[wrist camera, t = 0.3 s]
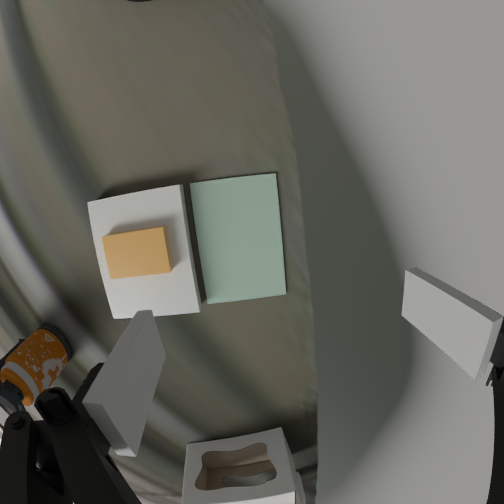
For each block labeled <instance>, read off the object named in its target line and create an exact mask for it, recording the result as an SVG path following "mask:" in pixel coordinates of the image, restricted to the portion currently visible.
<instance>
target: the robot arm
mask: <svg viewBox="0 0 504 504" xmlns="http://www.w3.org/2000/svg"><path fill="white" fill-rule="evenodd" d="M129 1H135V2H142V1H150V0H129ZM402 316H403V317H404V318H406V319H407V320H408V321H409V322H410V323H412V324H413V325H414V326H415V327H416V328H417V329H419V330H420V331H421V332H422V333H423V334H424V335H426V336H427V337H428V338H429V339H430V340H431V341H432V342H434V343H435V344H436V345H437V346H438V347H439V348H440V349H441V350H443V351H444V352H445V353H446V354H447V355H448V356H449V357H450V358H451V359H453V360H454V361H455V362H456V363H457V364H458V365H459V366H460V367H461V368H463V369H464V370H465V371H466V372H467V373H468V374H469V375H470V376H471V377H472V378H473V379H477V378H478V377H480V376H481V375H483V374H484V373H485V372H486V370H487V367H488V364H489V362H491V363H493V364H494V365H493V368H492V371H491V373H490V375H489V378H488V380H487V382H486V386H488V384H489V382H490V381H491V380H492V384H491V386H493V394H494V414H495V415H494V416H495V433H494V456H493V467H492V476H491V483H490V490H489V495H488V500H487V503H486V504H504V317H503V316H502V315H500V314H499V313H497V312H495V311H494V310H492V309H490V308H489V307H487V306H485V305H483V304H482V303H480V302H479V301H477V300H475V299H473V298H471V297H470V296H468V295H466V294H464V293H462V292H461V291H459V290H457V289H455V288H453V287H452V286H450V285H448V284H446V283H444V282H443V281H441V280H439V279H437V278H435V277H433V276H431V275H430V274H428V273H426V272H424V271H422V270H420V269H418V268H411V269H407V270H405V286H404V297H403V308H402ZM165 357H166V355H165V352H164V349H163V346H162V343H161V339H160V336H159V333H158V330H157V326H156V323H155V319H154V316H153V312H152V310H141V311H137V312H136V314H135V315H134V317H133V319H132V320H131V322H130V323H129V325H128V326H127V328H126V329H125V331H124V333H123V334H122V336H121V337H120V339H119V340H118V342H117V344H116V345H115V347H114V348H113V350H112V352H111V353H110V355H109V357H108V358H107V360H106V361H105V363H98V364H97V365H96V366H95V367H94V368H92V369H91V370H90V372H89V374H88V375H87V377H86V379H85V380H84V382H83V383H82V386H80V388H79V390H78V391H77V393H76V395H75V396H74V398H73V400H72V401H71V399H70V397H69V396H68V394H67V392H66V391H65V390H64V389H62V388H60V387H53V388H49V389H46V390H45V391H43V392H41V393H40V394H39V395H38V396H37V398H36V400H35V403H34V406H35V407H36V409H37V411H38V412H39V413H40V415H41V416H42V418H43V419H44V420H39V421H34V420H33V419H32V417H31V416H30V414H29V413H28V412H26V411H17V412H14V413H13V414H11V415H10V416H9V417H8V418H7V419H6V422H5V425H4V430H3V435H2V440H1V446H0V504H73V502H74V504H142V503H141V502H140V500H139V499H138V498H137V496H136V495H135V494H134V492H133V491H132V489H131V488H130V486H129V485H128V483H127V482H126V480H125V479H124V477H123V476H122V474H121V473H120V471H119V469H118V468H117V466H116V465H115V463H114V461H113V460H112V458H111V457H110V455H109V454H108V452H109V449H110V446H111V447H112V448H113V449H114V451H115V452H116V453H117V455H123V456H132V457H136V456H137V452H138V449H139V445H140V441H141V438H142V434H143V430H144V427H145V423H146V420H147V416H148V413H149V409H150V406H151V402H152V399H153V396H154V392H155V389H156V386H157V383H158V379H159V376H160V373H161V370H162V367H163V364H164V360H165Z"/></svg>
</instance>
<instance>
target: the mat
mask: <svg viewBox="0 0 504 504" xmlns="http://www.w3.org/2000/svg"><path fill="white" fill-rule="evenodd" d="M190 190H191V198H192V206H193V214H194V221H195V228H196V235H197V242H198V248H199V255H200V261H201V267H202V273H203V279H204V285H205V291H206V297H207V302H208V304H212V303H221V302H229V301H238V300H246V299H253V298H261V297H268V296H276V295H283V294H286V285H285V272H284V259H283V246H282V234H281V223H280V212H279V201H278V191H277V181H276V173H274V174H263V175H253V176H243V177H234V178H226V179H218V180H210V181H203V182H196V183H190Z"/></svg>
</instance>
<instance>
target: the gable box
mask: <svg viewBox="0 0 504 504" xmlns="http://www.w3.org/2000/svg"><path fill="white" fill-rule="evenodd" d="M208 469H209V470H208ZM271 469H276V471H277V476H276V478H275V479H274V480H273V481H271V482H269V483H267V484H263V485H259V486H252V487H227V488H223V487H222V480H223V478H225V477H227V476H238V477H246V476H253V475H256V474H259V473H262V472H264V471H267V470H271ZM182 504H304V503H303V499H302V495H301V491H300V487H299V483H298V479H297V474H296V470H295V466H294V462H293V458H292V454H291V451H290V449H289V446H288V443H287V441H286V438H285V435H284V433H283V430H282V428H281V427H279V428H275V429H271V430H267V431H263V432H258V433H254V434H249V435H244V436H238V437H233V438H227V439H220V440H214V441H206V442H198V443H189V444H187V451H186V460H185V470H184V481H183V492H182Z"/></svg>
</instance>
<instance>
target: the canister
mask: <svg viewBox="0 0 504 504" xmlns="http://www.w3.org/2000/svg"><path fill="white" fill-rule="evenodd" d="M70 359H71V349H70V346H69V343H68V342H67V340H66V339H65V337H64V336H63V335H62V334H61V333H60V332H59V331H58V330H57V329H55V328H54V327H52V326H49V325H42V326H40V327H39V328H38V329H37V330H36V331H35V332H33V333H32V334H31V335H30V336H29V337H28V338H27V339H19V343H18V344H17V345H16V346H14V347H13V348H12V349H11V350H10V351H9V352H8V353H7V354H6V355H5V356H4V357H3V358H2V359H1V360H0V403H2V404H3V405H5V406H6V407H8V408H9V409H11V410H12V411H13V412H17V411H26V410H25V408H24V405H25V406H30V405H33V404H34V403H35V400H36V398H37V396H38V395H39V394H40V393H41V392H43V391H45V390H46V389H49V388H50V386H51V385H52V383H53V382H54V381H55V379H56V378H57V377H58V375H59V374H60V373H61V371H62V370H63V369H64V367H65V366H66V365H67V363H68V362H69V361H70Z"/></svg>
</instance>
